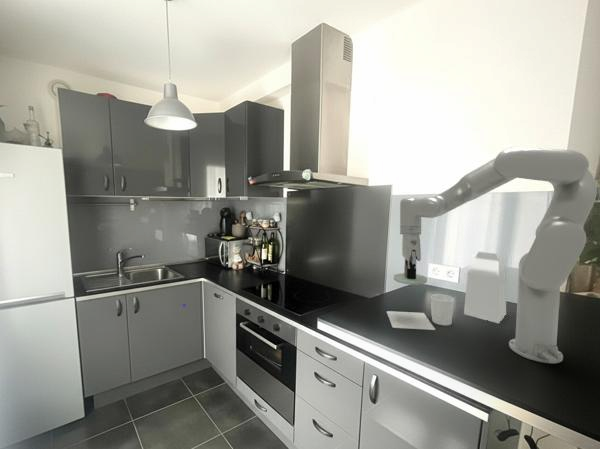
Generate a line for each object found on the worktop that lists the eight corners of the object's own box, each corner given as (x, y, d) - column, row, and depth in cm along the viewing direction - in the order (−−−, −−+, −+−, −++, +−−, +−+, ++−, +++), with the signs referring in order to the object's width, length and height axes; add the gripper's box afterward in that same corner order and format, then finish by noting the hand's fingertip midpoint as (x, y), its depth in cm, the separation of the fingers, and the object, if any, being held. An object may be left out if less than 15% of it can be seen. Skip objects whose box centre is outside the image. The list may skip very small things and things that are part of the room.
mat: (435, 331, 98) (435, 329, 98) (392, 328, 101) (392, 327, 101) (423, 313, 113) (423, 312, 113) (386, 312, 115) (386, 311, 115)
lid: (431, 284, 98) (431, 271, 98) (396, 284, 100) (397, 270, 100) (421, 275, 110) (422, 263, 110) (391, 275, 112) (391, 263, 112)
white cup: (447, 318, 108) (448, 294, 107) (457, 327, 101) (457, 301, 100) (427, 318, 109) (427, 294, 108) (434, 327, 101) (435, 301, 100)
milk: (463, 314, 112) (465, 252, 110) (472, 306, 120) (474, 248, 117) (498, 323, 103) (501, 256, 101) (506, 314, 111) (509, 252, 108)
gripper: (427, 232, 95) (426, 283, 96) (415, 228, 111) (414, 271, 113) (405, 233, 96) (404, 283, 98) (396, 228, 112) (396, 271, 114)
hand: (410, 276), depth 105 cm, fingers closed on lid, 3 cm apart
